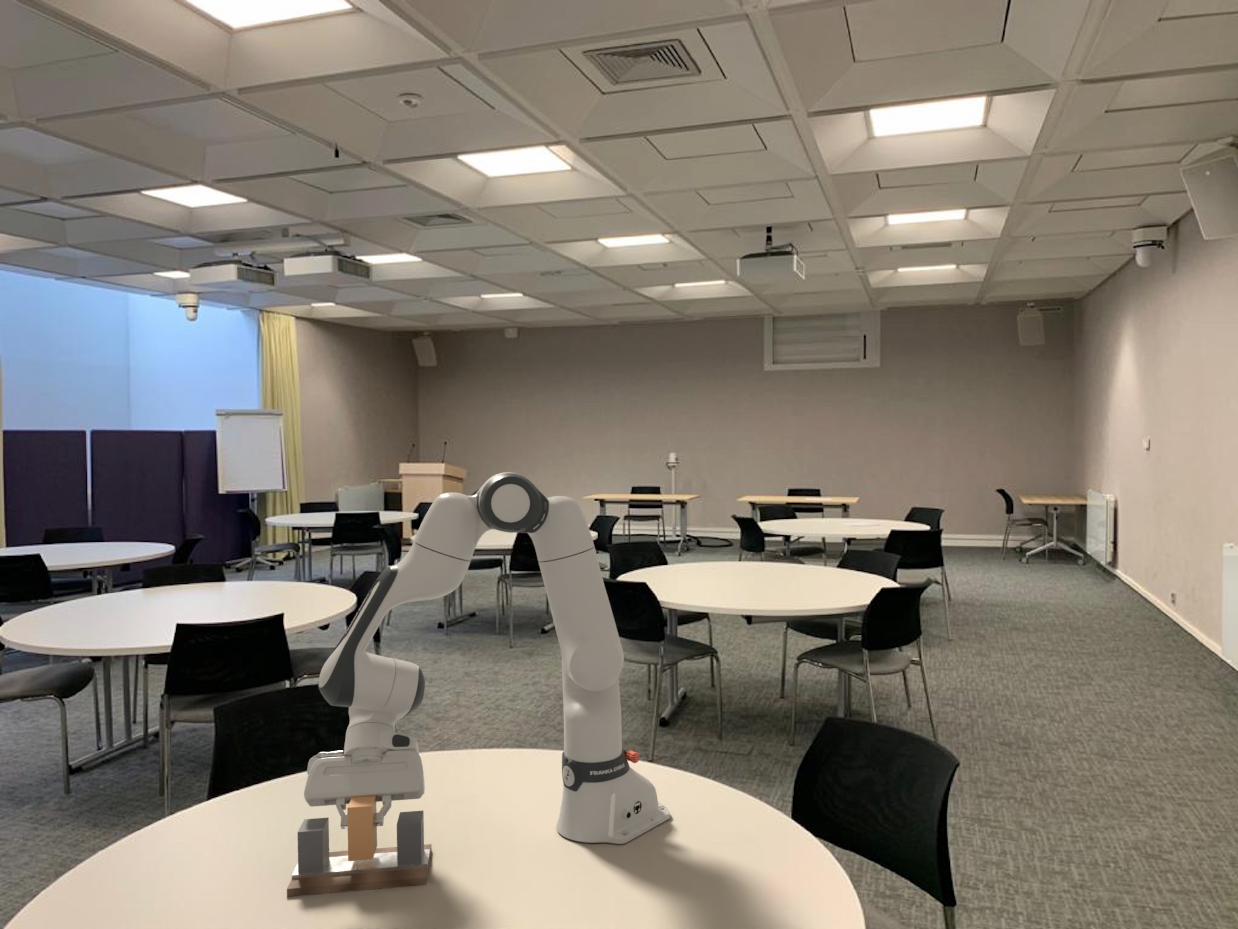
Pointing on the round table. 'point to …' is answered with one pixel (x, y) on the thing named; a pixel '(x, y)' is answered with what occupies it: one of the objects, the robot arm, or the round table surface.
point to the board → (359, 878)
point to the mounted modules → (317, 842)
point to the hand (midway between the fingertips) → (361, 826)
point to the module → (361, 828)
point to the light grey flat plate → (363, 865)
